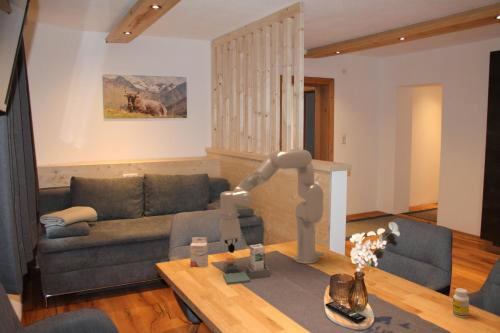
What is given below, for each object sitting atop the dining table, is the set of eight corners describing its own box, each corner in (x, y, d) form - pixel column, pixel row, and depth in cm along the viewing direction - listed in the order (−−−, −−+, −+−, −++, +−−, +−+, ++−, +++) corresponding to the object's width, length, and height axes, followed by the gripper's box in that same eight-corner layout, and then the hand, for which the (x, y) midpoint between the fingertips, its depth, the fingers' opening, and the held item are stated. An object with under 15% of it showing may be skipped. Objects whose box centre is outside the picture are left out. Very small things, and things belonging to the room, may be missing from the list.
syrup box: (254, 277, 207) (254, 248, 205) (250, 273, 212) (249, 244, 211) (265, 275, 209) (265, 246, 207) (261, 271, 214) (260, 243, 213)
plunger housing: (235, 268, 219) (235, 261, 219) (237, 272, 213) (237, 265, 213) (223, 270, 218) (223, 262, 217) (226, 274, 212) (225, 266, 211)
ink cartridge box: (190, 267, 224) (189, 239, 222) (192, 263, 229) (191, 236, 227) (206, 267, 223) (205, 239, 221) (208, 263, 228) (207, 236, 226)
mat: (244, 273, 212) (244, 271, 211) (250, 281, 201) (250, 279, 201) (222, 276, 209) (222, 274, 209) (227, 284, 198) (227, 282, 198)
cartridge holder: (264, 270, 216) (264, 263, 216) (269, 276, 207) (269, 269, 207) (246, 272, 214) (246, 265, 214) (251, 278, 205) (251, 271, 205)
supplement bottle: (449, 312, 165) (450, 287, 164) (463, 311, 165) (464, 286, 164) (457, 318, 160) (458, 293, 158) (471, 317, 160) (472, 292, 159)
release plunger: (233, 268, 218) (233, 257, 217) (235, 270, 214) (235, 259, 213) (226, 269, 217) (225, 258, 216) (227, 271, 213) (227, 260, 212)
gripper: (242, 213, 218) (244, 248, 220) (213, 216, 214) (215, 252, 217) (245, 216, 211) (247, 252, 213) (215, 219, 207) (218, 256, 209)
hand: (231, 252), depth 215 cm, fingers closed
